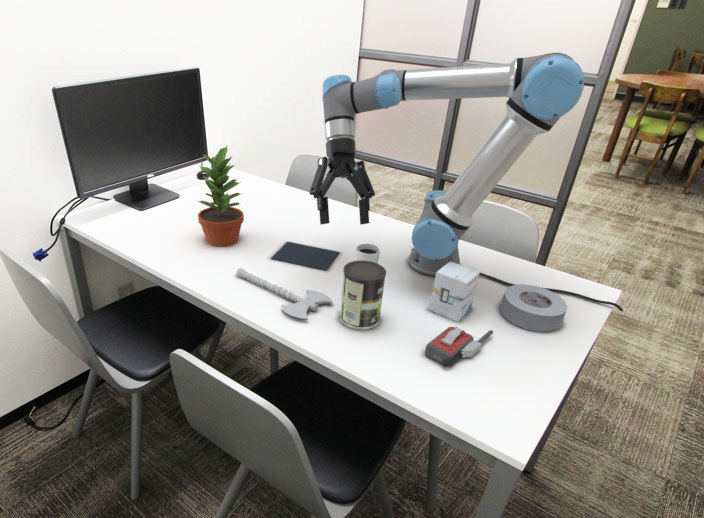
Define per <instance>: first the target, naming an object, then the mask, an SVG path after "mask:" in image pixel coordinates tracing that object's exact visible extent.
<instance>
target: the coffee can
mask: <svg viewBox="0 0 704 518" xmlns="http://www.w3.org/2000/svg"><path fill="white" fill-rule="evenodd" d="M342 270H343V278H342V286H341V298H340V311H339V320H340V322H341V323H342V324H343V325H344V326H346V327H348V328H350V329H352V330H353V329H354V330H361V331H365V330H370V329H374V328H375V327H377V326H378V325H379V323H380V320H381V311H382V303H383V296H384V289H385V283H386V276H387V270H386V268H385V266H382V264H379V263H378V264H377V263H375V262H371V261H362V260H361V261H356V260H353V261H350V262H348V263H346V264H345V265H344V266H343V268H342Z"/></svg>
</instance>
